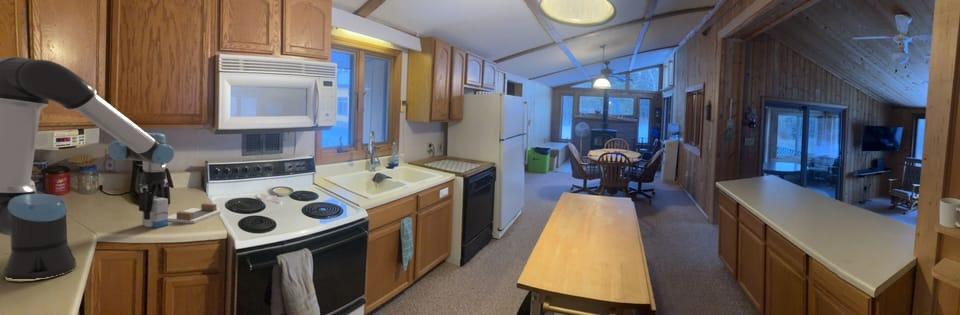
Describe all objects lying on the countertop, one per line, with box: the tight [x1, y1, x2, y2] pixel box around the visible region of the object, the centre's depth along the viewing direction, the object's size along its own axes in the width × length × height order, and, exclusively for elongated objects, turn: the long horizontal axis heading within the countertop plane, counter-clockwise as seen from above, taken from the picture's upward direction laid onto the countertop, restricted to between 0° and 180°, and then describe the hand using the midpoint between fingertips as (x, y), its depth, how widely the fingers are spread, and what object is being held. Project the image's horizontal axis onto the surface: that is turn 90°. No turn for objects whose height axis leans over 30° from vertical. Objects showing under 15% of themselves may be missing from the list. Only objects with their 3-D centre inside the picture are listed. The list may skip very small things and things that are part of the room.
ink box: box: [141, 195, 169, 229], centre depth 173 cm, size 9×5×12 cm, turn 75°
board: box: [168, 202, 221, 224], centre depth 188 cm, size 17×14×4 cm
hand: (155, 224), depth 174 cm, fingers closed on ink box, 6 cm apart
